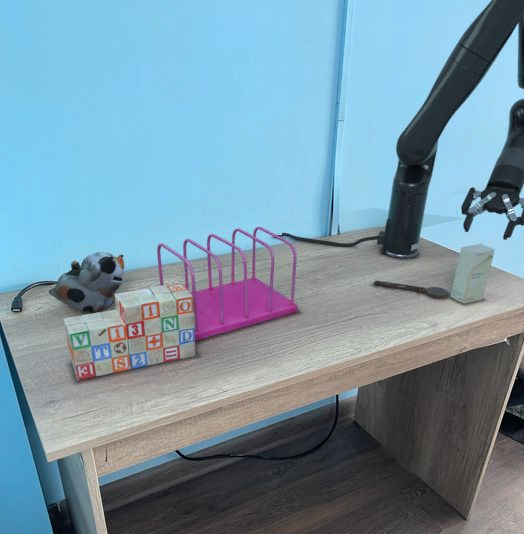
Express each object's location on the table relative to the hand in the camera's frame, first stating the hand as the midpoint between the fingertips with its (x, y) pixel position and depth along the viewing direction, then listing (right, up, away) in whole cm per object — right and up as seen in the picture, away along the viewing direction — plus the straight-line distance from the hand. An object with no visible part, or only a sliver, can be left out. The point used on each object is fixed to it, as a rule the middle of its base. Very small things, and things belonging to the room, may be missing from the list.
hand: (485, 234), depth 120 cm
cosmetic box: (-3, -14, +3) cm, 15 cm away
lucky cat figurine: (-88, -16, -3) cm, 90 cm away
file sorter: (-58, -18, -5) cm, 61 cm away
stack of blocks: (-74, -28, -23) cm, 82 cm away
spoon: (-16, -12, +6) cm, 20 cm away
